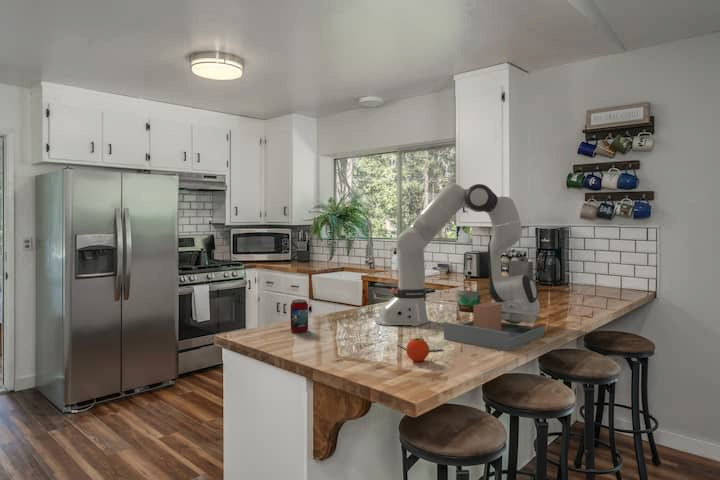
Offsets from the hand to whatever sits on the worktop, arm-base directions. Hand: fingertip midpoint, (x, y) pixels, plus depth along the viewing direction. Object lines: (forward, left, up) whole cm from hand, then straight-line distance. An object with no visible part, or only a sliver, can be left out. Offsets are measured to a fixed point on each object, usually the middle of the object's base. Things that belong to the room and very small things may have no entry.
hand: (498, 317), depth 178 cm
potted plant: (+6, +49, -8) cm, 50 cm away
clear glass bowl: (-32, -10, -8) cm, 35 cm away
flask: (+61, +110, -8) cm, 126 cm away
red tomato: (-36, -25, -8) cm, 45 cm away
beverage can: (-72, +19, -8) cm, 75 cm away
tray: (-1, 0, -7) cm, 8 cm away
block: (-5, -2, -5) cm, 7 cm away
